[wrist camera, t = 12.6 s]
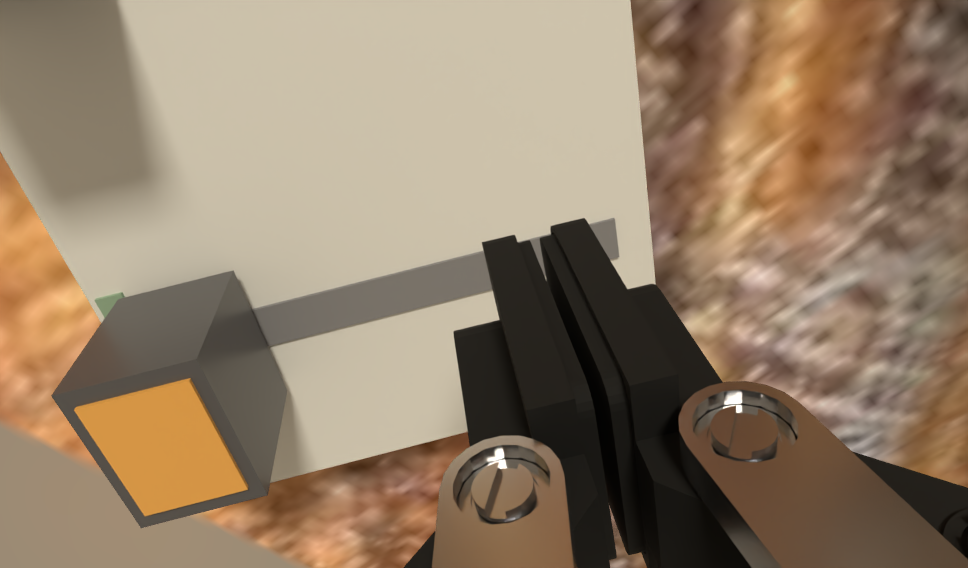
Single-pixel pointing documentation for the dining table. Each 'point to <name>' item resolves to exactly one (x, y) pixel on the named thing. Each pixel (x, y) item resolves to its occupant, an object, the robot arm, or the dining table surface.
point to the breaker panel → (328, 175)
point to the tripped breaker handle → (178, 400)
